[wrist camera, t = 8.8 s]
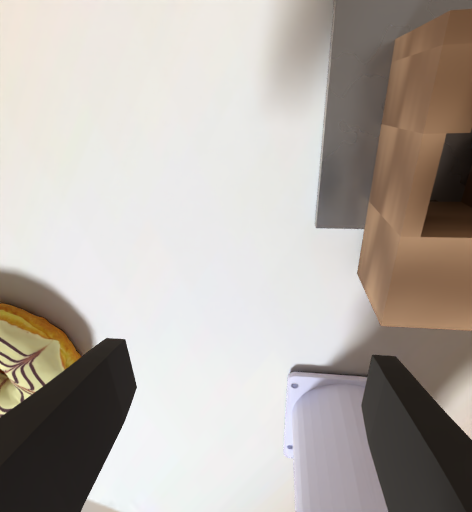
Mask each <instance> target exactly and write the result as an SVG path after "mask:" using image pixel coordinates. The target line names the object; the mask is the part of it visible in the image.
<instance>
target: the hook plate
mask: <svg viewBox="0 0 472 512" xmlns="http://www.w3.org/2000/svg"><path fill="white" fill-rule="evenodd" d="M462 9H472V0H334V8H333V20H332V31H331V43H330V54H329V66H328V78H327V89H326V101H325V112H324V124H323V136H322V147H321V159H320V170H319V182H318V193H317V205H316V217H315V226H316V228H344V229H365V222H366V216H367V210H368V204H369V198H370V192H371V186H372V179H373V173H374V167H375V161H376V155H377V149H378V143H379V136H380V130H381V124H382V118H383V112H384V106H385V100H386V93H387V87H388V81H389V75H390V69H391V63H392V57H393V50H394V44H395V39H397V38H399V37H401V36H402V35H404V34H406V33H408V32H410V31H412V30H414V29H416V28H418V27H420V26H422V25H423V24H425V23H427V22H429V21H431V20H433V19H435V18H437V17H439V16H441V15H442V14H444V13H446V12H448V11H450V10H462ZM471 166H472V129H471V132H470V133H447V134H446V138H445V142H444V146H443V150H442V154H441V158H440V162H439V166H438V170H437V174H436V178H435V182H434V185H433V189H432V193H431V197H430V201H429V202H461V200H462V196H463V193H464V190H465V186H466V183H467V180H468V176H469V173H470V169H471Z"/></svg>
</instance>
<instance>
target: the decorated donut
mask: <svg viewBox="0 0 472 512" xmlns="http://www.w3.org/2000/svg"><path fill="white" fill-rule="evenodd" d="M79 358H81V355H80V354H79V353H78V352H77V351H76V349H75V347H74V346H73V344H72V342H71V341H70V340H69V339H68V337H67V335H66V334H65V333H64V332H63V331H62V330H60V329H58V328H57V327H55V326H54V325H52V324H50V323H49V322H48V320H46V319H45V318H43V317H38V316H36V315H33V314H31V313H29V312H27V311H26V310H23V309H20V308H16V307H15V306H12V305H8V304H4V303H0V417H1V416H2V415H4V414H5V413H7V412H8V411H9V410H11V409H12V408H14V407H15V406H17V405H18V404H19V403H21V402H22V401H24V400H25V399H26V398H28V397H29V396H31V395H32V394H33V393H35V392H36V391H38V390H39V389H40V388H41V387H43V386H44V385H45V384H47V383H48V382H49V381H51V380H52V379H53V378H55V377H56V376H57V375H59V374H60V373H61V372H63V371H64V370H65V369H66V368H68V367H69V366H70V365H72V364H73V363H74V362H76V361H77V360H78V359H79Z"/></svg>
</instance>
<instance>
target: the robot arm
mask: <svg viewBox="0 0 472 512" xmlns="http://www.w3.org/2000/svg"><path fill="white" fill-rule="evenodd" d="M293 383H296V384H293ZM136 388H137V386H136V382H135V377H134V373H133V369H132V365H131V361H130V357H129V353H128V349H127V345H126V341H125V339H112V338H106V339H105V340H103V341H102V342H100V343H99V344H98V345H96V346H95V347H94V348H92V349H91V350H90V351H88V352H87V353H86V354H85V355H83V356H82V357H81V358H79V359H78V360H77V361H76V362H74V363H73V364H72V365H70V366H69V367H68V368H66V369H65V370H64V371H63V372H61V373H60V374H59V375H57V376H56V377H55V378H53V379H52V380H51V381H49V382H48V383H47V384H45V385H44V386H43V387H41V388H40V389H39V390H38V391H36V392H35V393H33V394H32V395H31V396H29V397H28V398H26V399H25V400H24V401H22V402H21V403H19V404H18V405H17V406H15V407H14V408H12V409H11V410H9V411H8V412H7V413H5V414H4V415H2V416H1V417H0V512H81V510H82V507H83V505H84V503H85V501H86V499H87V497H88V495H89V493H90V491H91V489H92V487H93V485H94V483H95V481H96V479H97V477H98V475H99V473H100V471H101V469H102V467H103V465H104V463H105V461H106V459H107V457H108V455H109V453H110V451H111V449H112V447H113V444H114V442H115V440H116V438H117V436H118V434H119V432H120V430H121V428H122V426H123V424H124V422H125V419H126V416H127V414H128V411H129V408H130V406H131V403H132V400H133V397H134V394H135V391H136ZM284 456H285V457H287V458H293V465H294V490H295V512H472V440H471V439H470V438H469V437H468V436H467V435H466V433H465V432H464V431H463V430H462V429H461V428H460V427H459V426H458V425H457V424H456V423H455V422H454V421H453V420H452V419H451V418H450V417H449V415H448V414H447V413H446V412H445V411H444V410H443V409H442V408H441V407H440V406H439V405H438V403H437V402H436V401H435V400H434V399H433V398H432V397H431V396H430V395H429V393H428V392H427V391H426V390H425V389H424V388H423V387H422V386H421V384H420V383H419V382H418V381H417V380H416V379H415V378H414V377H413V375H412V374H411V373H410V372H409V371H408V370H407V369H406V367H405V366H404V365H403V364H402V363H401V362H400V361H399V360H398V359H397V357H396V356H382V355H372V358H371V363H370V367H369V372H368V376H367V377H361V376H347V375H333V374H319V373H305V372H291V373H290V374H289V375H288V382H287V399H286V416H285V433H284Z"/></svg>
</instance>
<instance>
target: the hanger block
mask: <svg viewBox="0 0 472 512" xmlns="http://www.w3.org/2000/svg"><path fill="white" fill-rule="evenodd" d="M471 129H472V9H462V10H450V11H448V12H446V13H444V14H442V15H441V16H439V17H437V18H435V19H433V20H431V21H429V22H427V23H425V24H423V25H422V26H420V27H418V28H416V29H414V30H412V31H410V32H408V33H406V34H404V35H402V36H401V37H399V38H397V39H395V44H394V50H393V57H392V63H391V69H390V75H389V81H388V87H387V93H386V100H385V106H384V112H383V118H382V124H381V130H380V136H379V143H378V149H377V155H376V161H375V167H374V173H373V179H372V186H371V192H370V198H369V204H368V210H367V216H366V222H365V229H364V235H363V241H362V247H361V253H360V259H359V266H358V272H357V274H358V276H359V279H360V281H361V283H362V285H363V288H364V290H365V292H366V294H367V296H368V299H369V301H370V303H371V305H372V307H373V310H374V312H375V314H376V316H377V318H378V321H379V323H380V325H381V326H391V327H410V328H430V329H449V330H469V331H472V166H471V169H470V173H469V176H468V180H467V183H466V186H465V190H464V193H463V196H462V200H461V202H429V201H430V197H431V193H432V189H433V185H434V182H435V178H436V174H437V170H438V166H439V162H440V158H441V154H442V150H443V146H444V142H445V138H446V134H447V133H470V132H471Z"/></svg>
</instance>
